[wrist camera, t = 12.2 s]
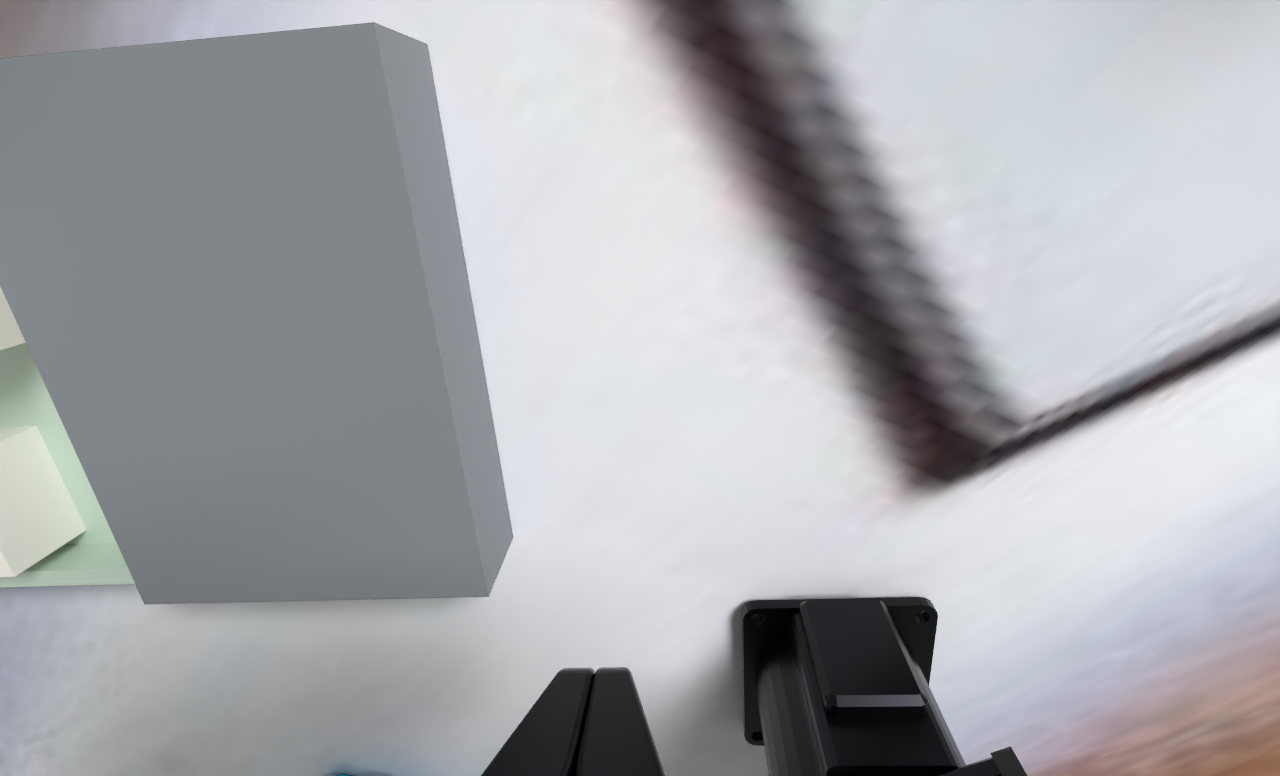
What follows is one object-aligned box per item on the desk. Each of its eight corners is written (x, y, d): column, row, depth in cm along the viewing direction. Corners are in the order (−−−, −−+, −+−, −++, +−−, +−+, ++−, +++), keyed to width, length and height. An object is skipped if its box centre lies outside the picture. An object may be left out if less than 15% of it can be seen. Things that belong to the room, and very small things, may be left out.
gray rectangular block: (513, 537, 21) (488, 596, 18) (211, 546, 22) (144, 604, 19) (427, 44, 16) (373, 22, 13) (31, 80, 17) (-99, 67, 14)
